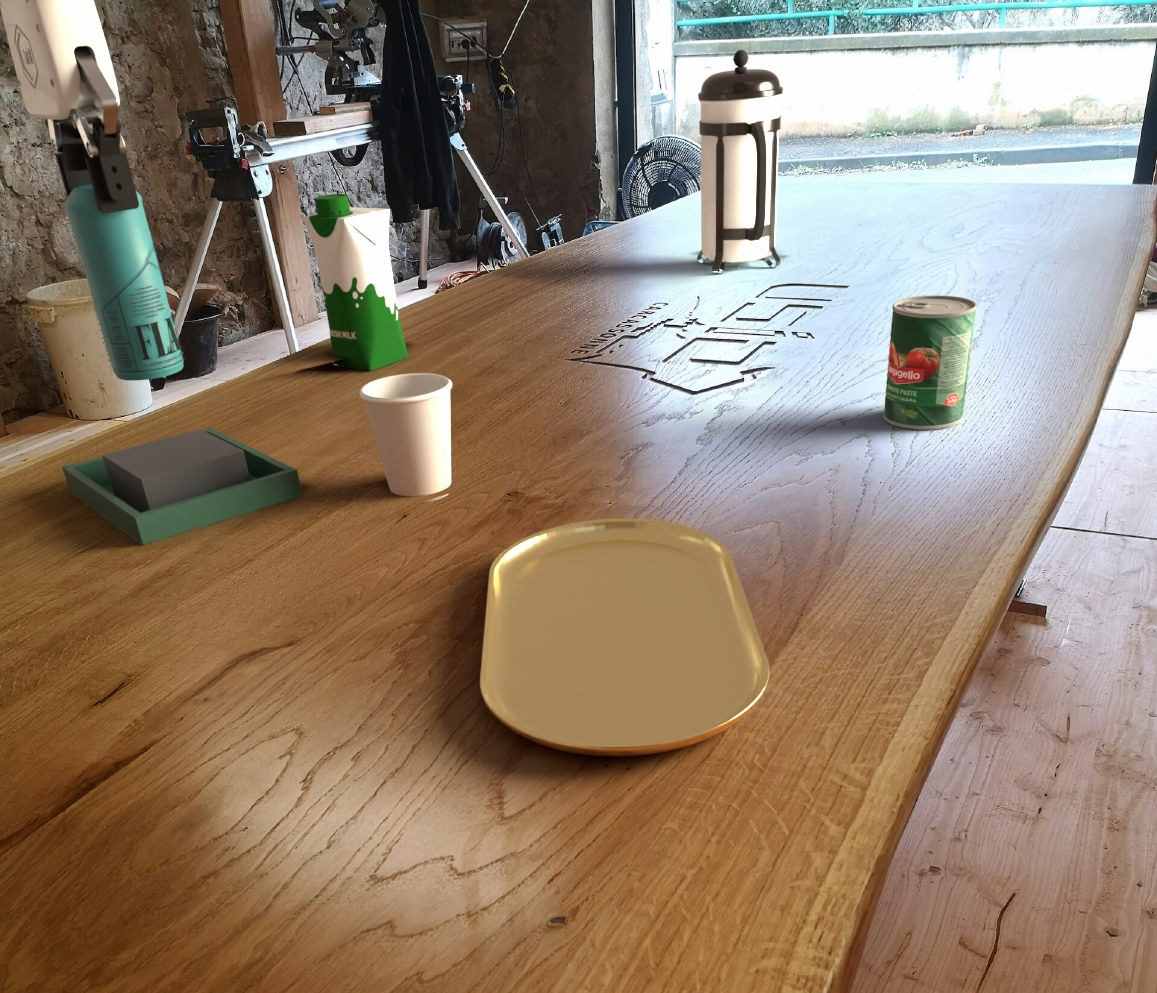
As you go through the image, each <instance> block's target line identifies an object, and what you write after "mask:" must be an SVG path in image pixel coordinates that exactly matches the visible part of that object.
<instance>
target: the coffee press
mask: <svg viewBox="0 0 1157 993" xmlns="http://www.w3.org/2000/svg"><path fill="white" fill-rule="evenodd" d="M749 59H750V57H749V55H748V53H747V51H746V50H744V49H739V50H737V51H736V52H735V53H734V55H733V58H732V61H733V64H734V65H735V66H736V67H735V68H734V70H725V71H720V72H716V73H713V74H711V75H710V76H708V77H707V78H706V79H704V81H703V83H702V85H701V89H700V91H699V92H698V94H697V96H698V97H697V99H698V101H699V103H700V120H699V122H698V124H699V126H698V127H699V130H698V131H699V135H700V200H701V201H700V211H701V212H700V216H701V217H700V219H701V220H700V225H701V226H700V227H701V228H700V229H701V230H700V231H701V232H700V233H701V235H700V236H701V250H700V251H699V253H698V255H697V257H696V261H697V260H700V259H702V260H703V256H704V257H705V258H706V259H705V260H704V261H706V260H708V261H709V260H710V261H713V263H712V266H711V271H718V272H719V271H720V270H719V269H722V270H724V271H725V268H726V266H727V264H729V263H744V262H751V261H763V262H764V263H766V265H767V266H768V267H769V266H771V265H772V264H774V263H773V262H772V260H770V259H769V256H770V255H771V256H772V257H773V259H774V261H775V268H777V267H776V266H778V267H779V266H780V265H781V262H782V260H781V258H780V256H779V254H778V253H777V251H776V234H777V209H778V208H777V207H778V178H779V177H778V175H779V174H778V173H779V142H780V140H779V139H780V130H781V126H782V124H781V123H782V115H780V109H781V108H780V107H781V105H780V104H781V97H782V96H783V93H784V88H783V87H782V86H781V83H780V79H779V77H778V76H777V75H776V74H775V73H774V72H773V71H770V70H767V69H762V68H760V69H759V68H752V69H751V68H750V69H749V68H747V67H746V65H747V64H748V62H749V61H748V60H749ZM767 257H768V258H767Z"/></svg>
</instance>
